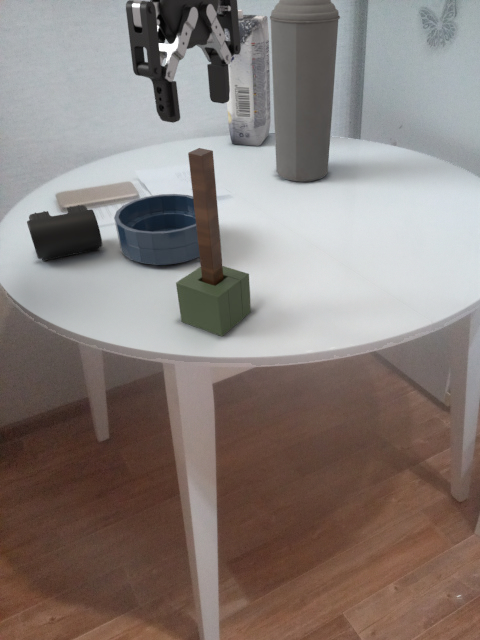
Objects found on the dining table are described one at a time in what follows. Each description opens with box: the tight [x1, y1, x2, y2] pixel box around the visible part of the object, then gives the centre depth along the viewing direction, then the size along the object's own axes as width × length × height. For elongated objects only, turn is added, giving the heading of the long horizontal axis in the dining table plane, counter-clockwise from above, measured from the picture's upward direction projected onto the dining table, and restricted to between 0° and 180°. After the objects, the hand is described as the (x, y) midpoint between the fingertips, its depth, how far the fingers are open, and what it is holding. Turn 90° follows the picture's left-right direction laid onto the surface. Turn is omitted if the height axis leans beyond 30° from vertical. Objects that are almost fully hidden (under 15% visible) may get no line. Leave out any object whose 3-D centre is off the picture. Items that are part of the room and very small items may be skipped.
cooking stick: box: [187, 147, 224, 286], centre depth 69 cm, size 2×2×22 cm
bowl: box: [113, 193, 200, 266], centre depth 91 cm, size 15×15×6 cm
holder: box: [175, 265, 252, 337], centre depth 74 cm, size 7×7×6 cm
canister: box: [269, 0, 341, 182], centre depth 108 cm, size 13×13×35 cm
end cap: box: [26, 204, 103, 262], centre depth 89 cm, size 10×7×7 cm
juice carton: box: [225, 9, 271, 147], centre depth 129 cm, size 9×10×27 cm
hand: (196, 111), depth 60 cm, fingers open, 8 cm apart
